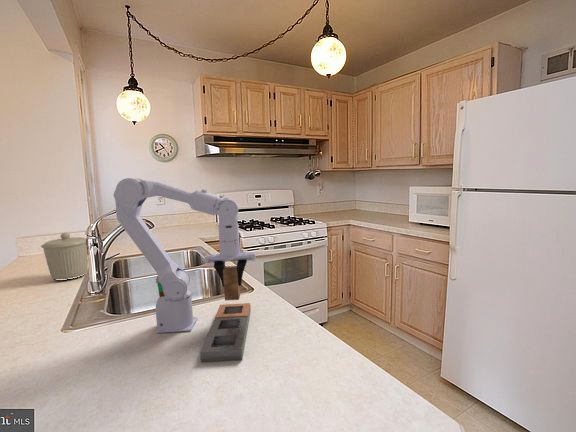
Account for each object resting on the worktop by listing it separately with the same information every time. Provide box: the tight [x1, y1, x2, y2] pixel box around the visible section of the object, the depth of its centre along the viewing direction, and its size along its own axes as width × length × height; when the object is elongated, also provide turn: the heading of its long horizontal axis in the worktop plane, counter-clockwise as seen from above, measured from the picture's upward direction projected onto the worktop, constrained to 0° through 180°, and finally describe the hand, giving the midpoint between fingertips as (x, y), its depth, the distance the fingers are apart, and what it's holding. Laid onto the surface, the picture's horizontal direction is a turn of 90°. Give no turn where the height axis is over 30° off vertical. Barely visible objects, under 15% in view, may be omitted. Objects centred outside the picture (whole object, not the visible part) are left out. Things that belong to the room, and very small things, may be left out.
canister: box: [40, 232, 89, 280], centre depth 142 cm, size 18×18×21 cm
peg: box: [223, 265, 241, 301], centre depth 91 cm, size 4×4×9 cm
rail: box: [199, 302, 252, 363], centre depth 84 cm, size 9×27×3 cm, turn 3°
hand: (232, 285), depth 92 cm, fingers closed on peg, 4 cm apart
